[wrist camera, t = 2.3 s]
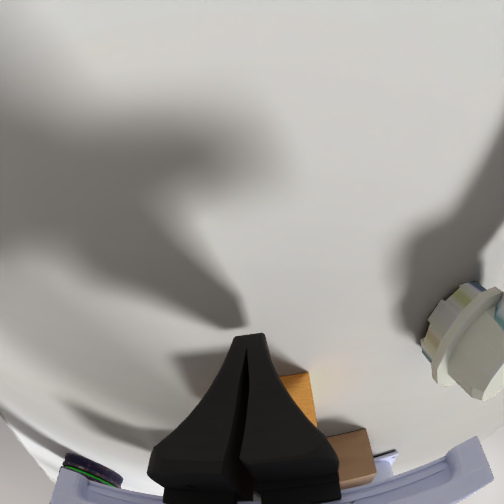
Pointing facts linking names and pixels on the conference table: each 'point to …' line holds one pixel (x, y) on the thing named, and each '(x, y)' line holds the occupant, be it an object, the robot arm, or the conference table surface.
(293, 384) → the orange block
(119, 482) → the storage jar
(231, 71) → the conference table surface
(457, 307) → the white handled tool
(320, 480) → the robot arm
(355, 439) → the block
